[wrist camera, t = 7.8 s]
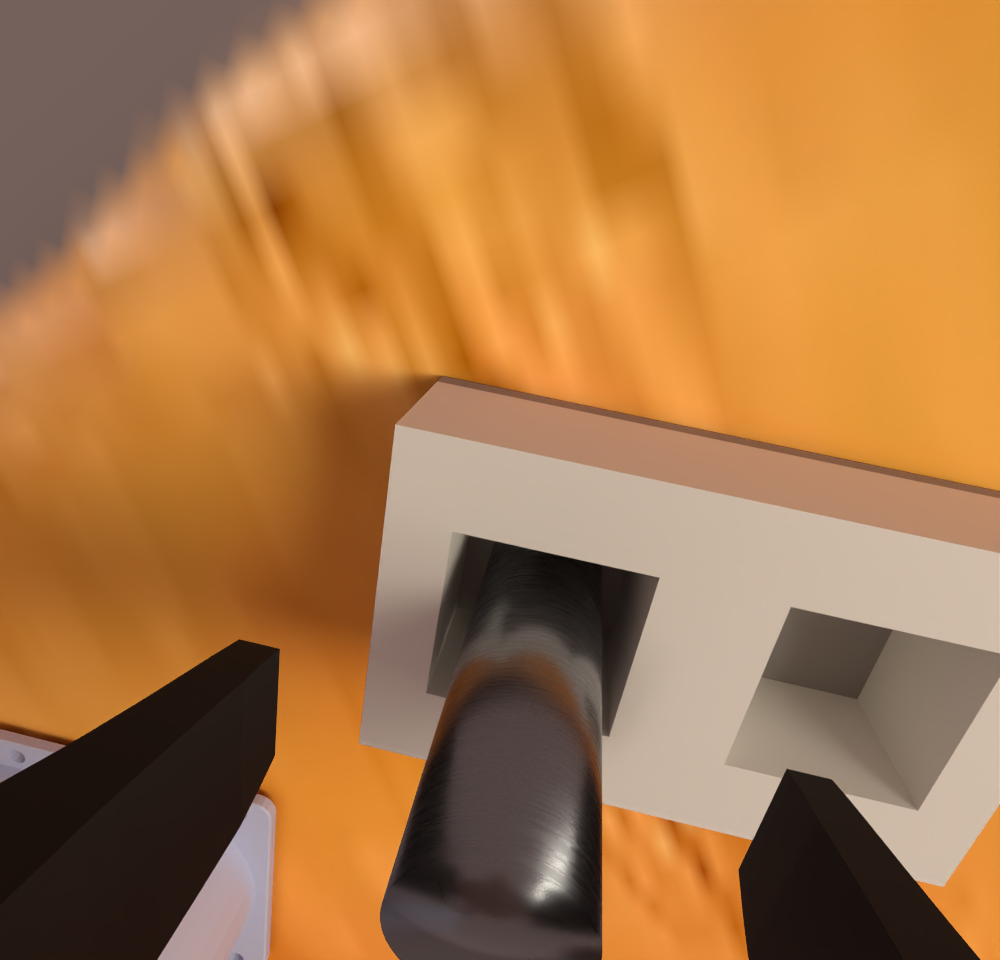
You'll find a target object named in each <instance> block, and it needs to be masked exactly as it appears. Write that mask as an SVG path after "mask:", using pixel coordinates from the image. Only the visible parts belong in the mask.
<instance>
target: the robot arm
mask: <svg viewBox="0 0 1000 960" xmlns="http://www.w3.org/2000/svg"><path fill="white" fill-rule="evenodd" d="M279 653H280V649H277V648H273V647H269V646H265V645H260V644H256V643H252V642H248V641H244V640H238V641H236V642H234V643H233V644H231V645H229V646H228V647H226V648H224V649H223V650H221V651H219V652H218V653H216V654H215V655H213V656H211V657H210V658H208V659H207V660H205V661H203V662H202V663H200V664H199V665H197V666H195V667H194V668H192V669H191V670H189V671H188V672H186V673H184V674H183V675H181V676H180V677H178V678H177V679H175V680H173V681H172V682H170V683H169V684H167V685H165V686H164V687H162V688H161V689H159V690H158V691H156V692H154V693H153V694H151V695H150V696H148V697H146V698H145V699H143V700H142V701H140V702H138V703H137V704H135V705H133V706H132V707H130V708H128V709H127V710H125V711H123V712H122V713H120V714H119V715H117V716H115V717H114V718H112V719H110V720H109V721H107V722H105V723H104V724H102V725H100V726H99V727H97V728H95V729H94V730H92V731H90V732H89V733H87V734H85V735H84V736H82V737H80V738H79V739H77V740H75V741H74V742H72V743H70V744H68V745H67V746H66V745H62V744H58V743H54V742H50V741H46V740H42V739H38V738H34V737H30V736H26V735H22V734H18V733H14V732H10V731H6V730H3V729H0V960H267V959H268V957H269V953H270V932H271V911H272V890H273V869H274V848H275V827H276V808H275V805H274V804H273V802H272V801H271V800H270V799H269V798H267V797H265V796H263V795H260V794H257V792H258V790H259V788H260V786H261V784H262V782H263V779H264V777H265V775H266V773H267V771H268V769H269V767H270V765H271V762H272V760H273V758H274V756H275V740H276V718H277V697H278V675H279ZM739 878H740V889H741V899H742V909H743V919H744V927H745V935H746V943H747V951H748V957H749V960H980V959H979V957H978V956H977V955H976V954H975V953H974V951H973V950H972V949H971V948H970V947H969V946H968V944H967V943H966V942H965V941H964V940H963V938H962V937H961V936H960V935H959V934H958V932H957V931H956V930H955V929H954V927H953V926H952V925H951V924H950V923H949V921H948V920H947V919H946V918H945V917H944V915H943V914H942V913H941V912H940V911H939V909H938V908H937V907H936V906H935V904H934V903H933V902H932V901H931V900H930V898H929V897H928V896H927V895H926V893H925V892H924V891H923V890H922V889H921V887H920V886H919V885H918V884H917V882H916V881H915V880H914V879H913V877H912V876H911V875H910V874H909V872H908V871H907V870H906V869H905V868H904V866H903V865H902V864H901V863H900V861H899V860H898V859H897V858H896V856H895V855H894V854H893V853H892V851H891V850H890V849H889V848H888V846H887V845H886V844H885V843H884V842H883V840H882V839H881V838H880V837H879V835H878V834H877V833H876V832H875V830H874V829H873V828H872V827H871V825H870V824H869V823H868V822H867V820H866V819H865V818H864V817H863V816H862V814H861V813H860V812H859V811H858V809H857V808H856V807H855V806H854V805H853V803H852V802H851V801H850V800H849V799H848V797H847V796H846V795H845V794H844V793H843V791H842V790H841V789H840V788H839V787H838V786H837V785H836V783H835V782H834V781H833V780H832V779H828V778H824V777H820V776H816V775H811V774H807V773H803V772H799V771H794V770H790V769H786V771H785V773H784V775H783V777H782V780H781V782H780V784H779V786H778V788H777V790H776V792H775V794H774V796H773V798H772V801H771V803H770V805H769V807H768V809H767V811H766V813H765V815H764V817H763V820H762V822H761V824H760V826H759V828H758V830H757V832H756V834H755V836H754V838H753V841H752V843H751V845H750V847H749V849H748V851H747V853H746V855H745V857H744V859H743V862H742V864H741V866H740V868H739Z"/></svg>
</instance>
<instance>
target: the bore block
mask: <svg viewBox="0 0 1000 960" xmlns="http://www.w3.org/2000/svg"><path fill="white" fill-rule="evenodd" d="M495 541H497V542H501V543H506V544H510V545H515V546H519V547H524V548H528V549H533V550H537V551H542V552H546V553H551V554H555V555H560V556H564V557H569V558H573V559H578V560H582V561H587V562H591V563H596V564H600V565H602V803H603V804H607V805H611V806H615V807H619V808H623V809H627V810H631V811H636V812H640V813H644V814H648V815H652V816H656V817H660V818H664V819H668V820H672V821H676V822H680V823H684V824H689V825H693V826H697V827H701V828H705V829H709V830H713V831H717V832H721V833H725V834H729V835H733V836H737V837H742V838H746V839H750V840H753V838H754V836H755V834H756V832H757V830H758V828H759V826H760V824H761V822H762V820H763V817H764V815H765V813H766V811H767V809H768V807H769V805H770V803H771V801H772V798H773V796H774V794H775V792H776V790H777V788H778V786H779V784H780V782H781V780H782V777H783V775H784V773H785V771H786V769H790V770H794V771H799V772H803V773H807V774H811V775H816V776H820V777H824V778H828V779H832V780H833V781H834V782H835V783H836V785H837V786H838V787H839V788H840V789H841V790H842V791H843V793H844V794H845V795H846V796H847V797H848V799H849V800H850V801H851V802H852V803H853V805H854V806H855V807H856V808H857V809H858V811H859V812H860V813H861V814H862V816H863V817H864V818H865V819H866V820H867V822H868V823H869V824H870V825H871V827H872V828H873V829H874V830H875V832H876V833H877V834H878V835H879V837H880V838H881V839H882V840H883V842H884V843H885V844H886V845H887V846H888V848H889V849H890V850H891V851H892V853H893V854H894V855H895V856H896V858H897V859H898V860H899V861H900V863H901V864H902V865H903V866H904V868H905V869H906V870H907V871H908V872H909V874H910V875H911V876H912V877H913V879H914V880H917V881H921V882H925V883H929V884H933V885H937V886H941V887H944V885H945V884H946V882H947V881H948V879H949V878H950V876H951V875H952V873H953V872H954V871H955V869H956V868H957V866H958V865H959V863H960V862H961V860H962V859H963V857H964V856H965V854H966V853H967V851H968V850H969V848H970V847H971V846H972V844H973V843H974V841H975V840H976V838H977V837H978V835H979V834H980V832H981V831H982V829H983V828H984V826H985V825H986V823H987V822H988V821H989V819H990V818H991V816H992V815H993V813H994V812H995V810H996V809H997V807H998V806H999V804H1000V491H995V490H990V489H985V488H981V487H976V486H971V485H966V484H961V483H956V482H952V481H947V480H942V479H937V478H932V477H928V476H923V475H918V474H913V473H908V472H903V471H899V470H894V469H889V468H884V467H879V466H875V465H870V464H865V463H860V462H855V461H850V460H846V459H841V458H836V457H831V456H826V455H822V454H817V453H812V452H807V451H802V450H797V449H793V448H788V447H783V446H778V445H773V444H768V443H764V442H759V441H754V440H749V439H744V438H740V437H735V436H730V435H725V434H720V433H715V432H711V431H706V430H701V429H696V428H691V427H687V426H682V425H677V424H672V423H667V422H662V421H658V420H653V419H648V418H643V417H638V416H633V415H629V414H624V413H619V412H614V411H609V410H605V409H600V408H595V407H590V406H585V405H580V404H576V403H571V402H566V401H561V400H556V399H552V398H547V397H542V396H537V395H532V394H527V393H523V392H518V391H513V390H508V389H503V388H499V387H494V386H489V385H484V384H479V383H474V382H470V381H465V380H460V379H455V378H450V377H445V376H442V377H441V378H440V379H439V380H438V381H437V382H436V383H435V384H434V385H433V386H432V387H431V388H430V389H429V390H428V391H427V392H426V394H425V395H424V396H423V397H422V398H421V399H420V400H419V401H418V402H417V403H416V404H415V405H414V406H413V407H412V408H411V409H410V410H409V411H408V412H407V413H406V414H405V415H404V416H403V417H402V418H401V419H400V420H399V421H398V422H397V423H396V424H395V431H394V440H393V449H392V458H391V466H390V475H389V484H388V493H387V502H386V510H385V519H384V528H383V537H382V546H381V554H380V563H379V572H378V581H377V590H376V599H375V607H374V616H373V625H372V634H371V643H370V651H369V660H368V669H367V678H366V687H365V695H364V704H363V713H362V722H361V731H360V739H359V744H363V745H367V746H371V747H375V748H379V749H383V750H387V751H391V752H395V753H399V754H403V755H407V756H411V757H415V758H420V759H424V760H427V757H428V754H429V751H430V747H431V744H432V741H433V738H434V735H435V731H436V728H437V725H438V722H439V718H440V715H441V712H442V709H443V706H444V702H445V699H446V696H447V693H448V690H449V686H450V683H451V680H452V677H453V673H454V670H455V667H456V664H457V661H458V657H459V654H460V651H461V648H462V645H463V641H464V638H465V635H466V632H467V628H468V625H469V622H470V619H471V616H472V612H473V609H474V606H475V603H476V600H477V596H478V593H479V590H480V587H481V583H482V580H483V577H484V574H485V571H486V567H487V564H488V561H489V558H490V555H491V551H492V548H493V546H494V543H495Z"/></svg>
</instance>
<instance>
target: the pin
mask: <svg viewBox="0 0 1000 960" xmlns="http://www.w3.org/2000/svg"><path fill="white" fill-rule="evenodd" d="M380 923H381V927H382V931H383V934H384V937H385V939H386V941H387V943H388V944H389V946H390V948H391V949H392V951H393V952H394V953H395V955H396V956H397V957H398V958H399V959H400V960H601V959H602V565H600V564H596V563H591V562H587V561H582V560H578V559H573V558H569V557H564V556H560V555H555V554H551V553H546V552H542V551H537V550H533V549H528V548H524V547H519V546H515V545H510V544H506V543H501V542H497V541H495V543H494V546H493V548H492V551H491V555H490V558H489V561H488V564H487V567H486V571H485V574H484V577H483V580H482V583H481V587H480V590H479V593H478V596H477V600H476V603H475V606H474V609H473V612H472V616H471V619H470V622H469V625H468V628H467V632H466V635H465V638H464V641H463V645H462V648H461V651H460V654H459V657H458V661H457V664H456V667H455V670H454V673H453V677H452V680H451V683H450V686H449V690H448V693H447V696H446V699H445V702H444V706H443V709H442V712H441V715H440V718H439V722H438V725H437V728H436V731H435V735H434V738H433V741H432V744H431V747H430V751H429V754H428V757H427V760H426V763H425V767H424V770H423V773H422V776H421V780H420V783H419V786H418V789H417V792H416V796H415V799H414V802H413V805H412V808H411V812H410V815H409V818H408V821H407V825H406V828H405V831H404V834H403V837H402V841H401V844H400V847H399V850H398V853H397V857H396V860H395V863H394V866H393V870H392V873H391V876H390V879H389V882H388V886H387V889H386V892H385V895H384V898H383V902H382V906H381V911H380Z"/></svg>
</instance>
